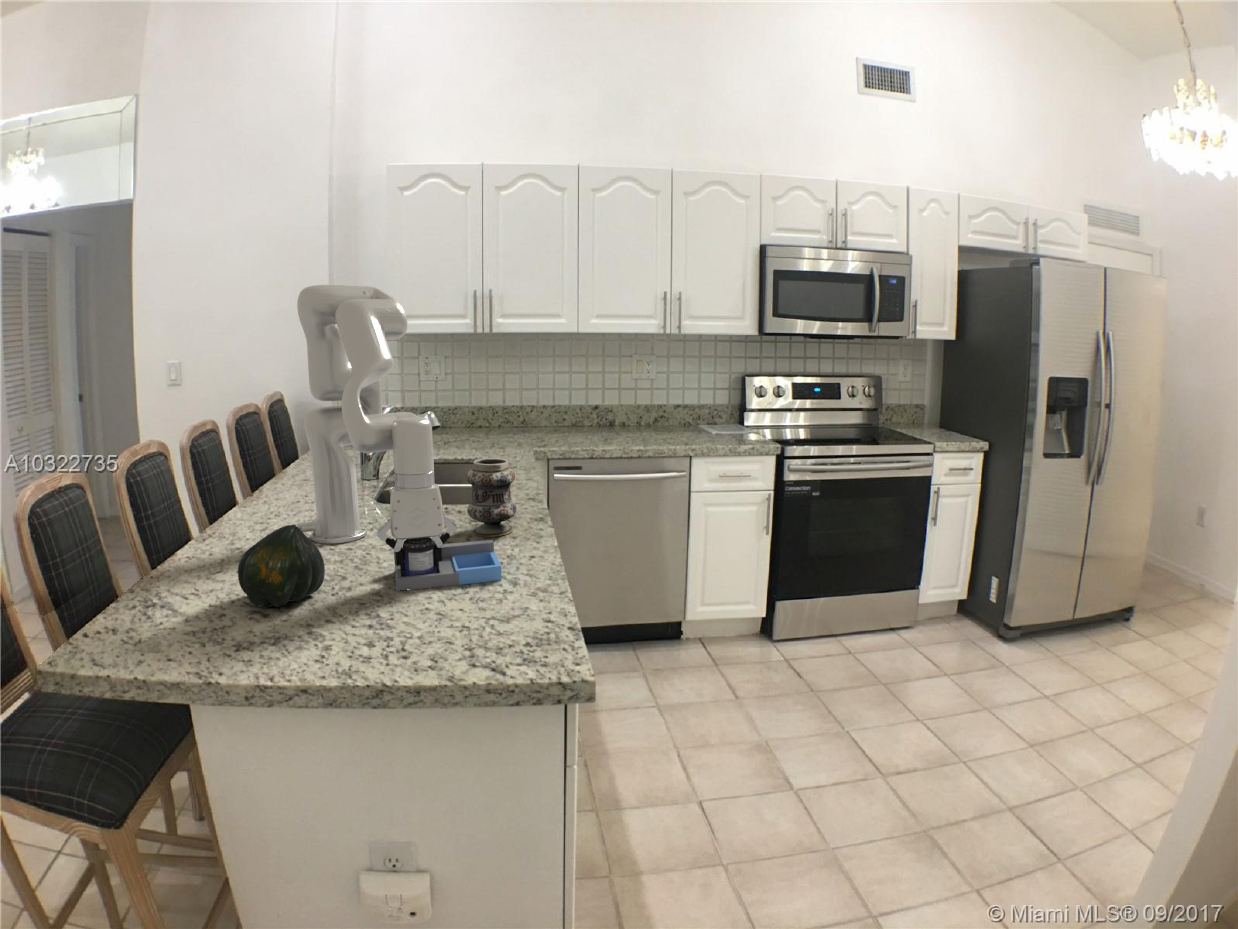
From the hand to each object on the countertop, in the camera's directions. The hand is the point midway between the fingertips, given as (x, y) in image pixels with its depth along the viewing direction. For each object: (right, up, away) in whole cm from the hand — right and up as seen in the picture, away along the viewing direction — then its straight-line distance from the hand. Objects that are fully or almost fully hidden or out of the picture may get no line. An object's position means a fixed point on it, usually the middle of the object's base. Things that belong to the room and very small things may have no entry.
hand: (419, 565), depth 143 cm
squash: (-23, -5, -9) cm, 25 cm away
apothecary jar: (+9, +4, +34) cm, 35 cm away
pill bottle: (0, -3, +1) cm, 3 cm away
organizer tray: (+5, -3, +2) cm, 6 cm away
